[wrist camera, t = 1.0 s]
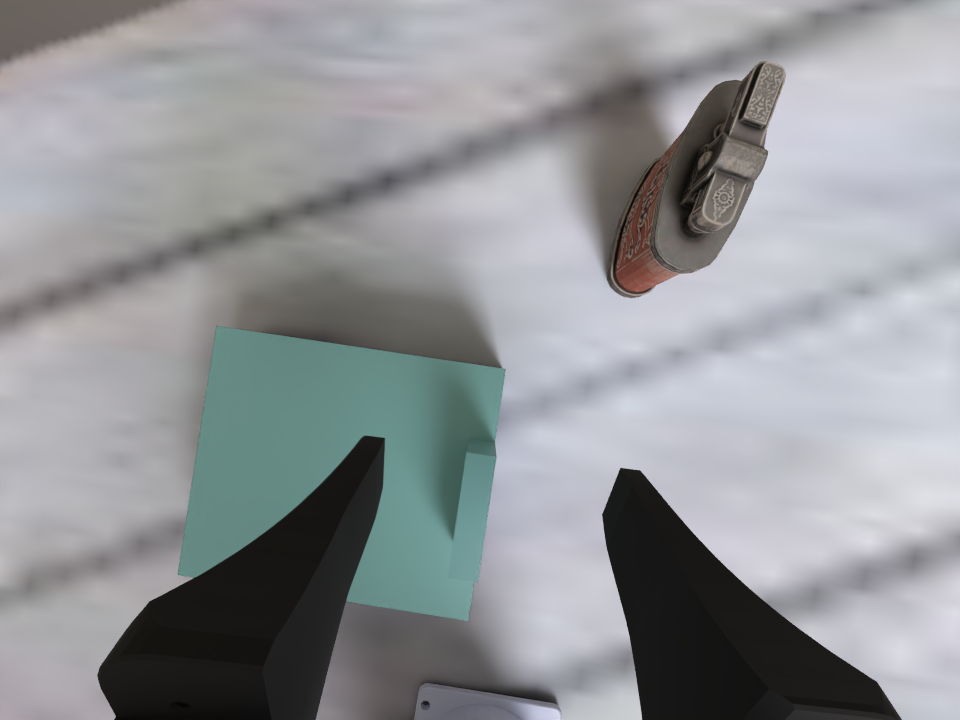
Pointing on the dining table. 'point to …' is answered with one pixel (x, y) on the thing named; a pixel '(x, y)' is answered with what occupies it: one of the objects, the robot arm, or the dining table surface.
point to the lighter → (696, 186)
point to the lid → (328, 440)
